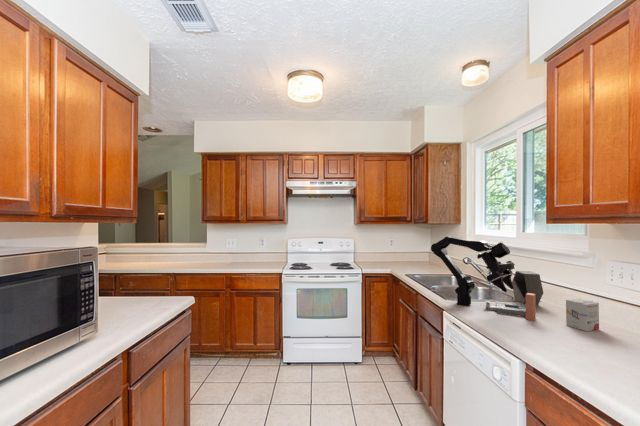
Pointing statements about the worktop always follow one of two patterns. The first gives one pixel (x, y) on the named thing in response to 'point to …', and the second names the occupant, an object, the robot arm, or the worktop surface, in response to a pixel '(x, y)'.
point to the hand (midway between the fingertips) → (509, 290)
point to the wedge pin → (530, 306)
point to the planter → (527, 286)
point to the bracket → (490, 306)
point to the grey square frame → (511, 308)
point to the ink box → (582, 314)
